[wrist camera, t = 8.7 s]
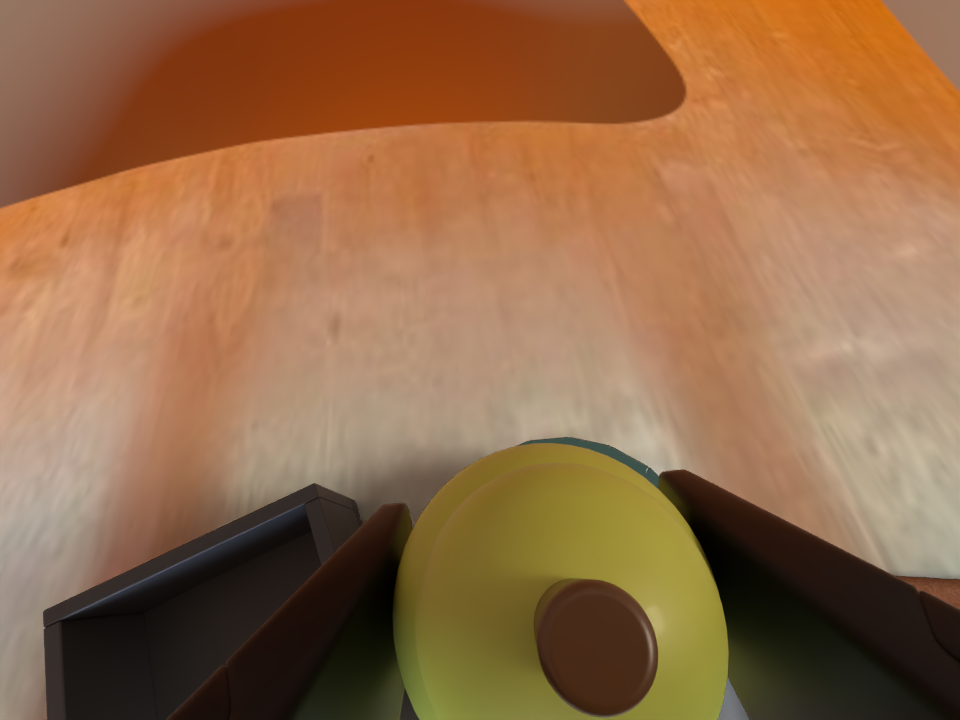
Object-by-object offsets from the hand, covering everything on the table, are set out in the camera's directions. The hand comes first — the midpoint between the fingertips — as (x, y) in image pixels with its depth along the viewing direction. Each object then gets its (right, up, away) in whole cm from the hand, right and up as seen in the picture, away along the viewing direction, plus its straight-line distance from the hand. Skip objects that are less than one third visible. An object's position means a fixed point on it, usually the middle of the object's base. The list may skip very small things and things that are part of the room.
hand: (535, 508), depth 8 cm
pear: (+1, -4, +5) cm, 6 cm away
